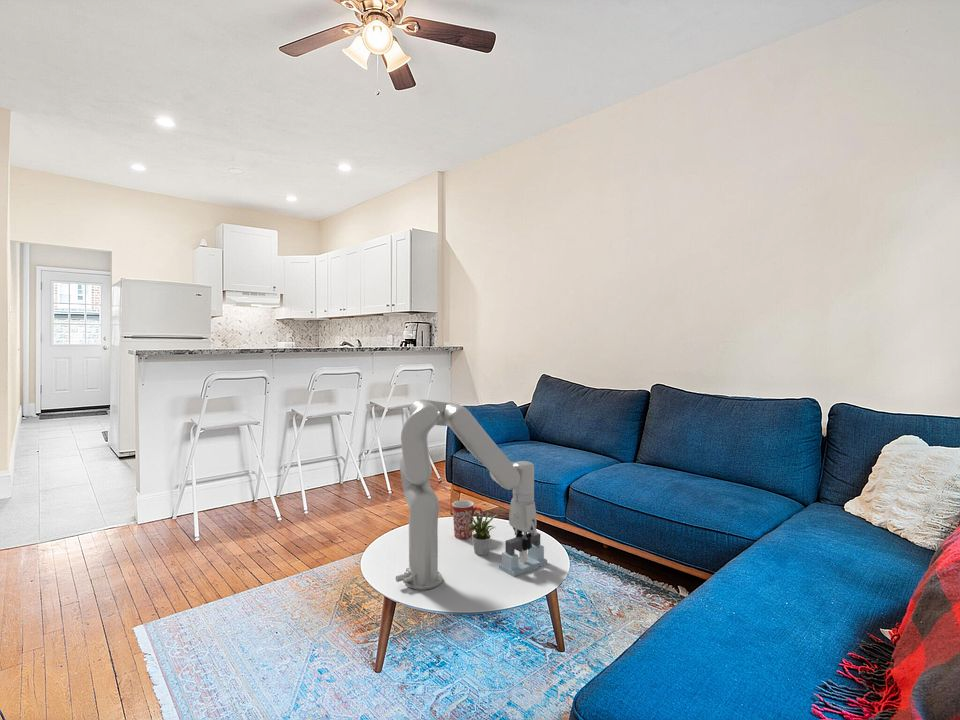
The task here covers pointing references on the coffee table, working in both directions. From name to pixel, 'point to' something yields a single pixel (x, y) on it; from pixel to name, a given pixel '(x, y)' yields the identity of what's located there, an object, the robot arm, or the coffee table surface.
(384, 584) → the coffee table surface
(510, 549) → the dark grey bar
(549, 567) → the coffee table surface
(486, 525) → the house plant
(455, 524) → the mug
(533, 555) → the display stand
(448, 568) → the coffee table surface
